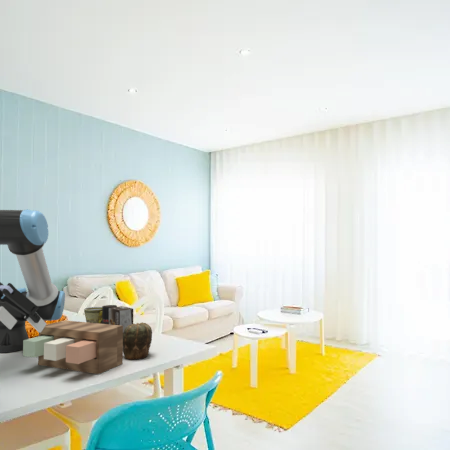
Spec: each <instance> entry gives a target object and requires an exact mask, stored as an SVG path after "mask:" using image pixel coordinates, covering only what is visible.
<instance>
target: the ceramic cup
mask: <svg viewBox="0 0 450 450" xmlns="http://www.w3.org/2000/svg"><path fill="white" fill-rule="evenodd" d="M83 310H84V317H85V322H88V323H99V324H102V306H90V307H86V308H84V309H83Z"/></svg>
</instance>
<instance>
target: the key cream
mask: <svg viewBox="0 0 450 450" xmlns="http://www.w3.org/2000/svg"><path fill="white" fill-rule="evenodd" d="M73 343H75V338H70V337H64V338H60V339H57V340H53V341H49V342H46V343H44V359H47V360H53V361H57V360H60V359H63V358H66V346H67V345H70V344H73Z"/></svg>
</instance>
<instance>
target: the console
mask: <svg viewBox="0 0 450 450" xmlns="http://www.w3.org/2000/svg"><path fill="white" fill-rule="evenodd" d="M42 335H52V336H54V340H57V339H60V338H64V337H70V338H75V343H76V342H80V341H83V340H86V339H88V340H96V341H97V357H96V358H93V359H91V360H88V361H85V362H83V363H80V364H74V363H67V362H66V358H63V359H60V360H57V361H53V360H47V359H44V355H41V356H38V357H37V359H38V360H37V365H38V366H43V367H50V368H55V369H56V368H57V369H62V370H63V369H64V370H69V371H76V372H83V373H88V374H89V373H90V374H95V375H100V374H103V373H104V372H107V371H109V370H112V369H114V368H116V367H118V366H121V365H123V360H124V358H123V356H124V353H123V326H121V325H110V324H99V323H88V322H86V321H75V320H66V319H65V320H61V321H57V322H52V323H46V326H45V327H44V329H43V330H42V332H41V333H39V332H38V337H39V336H42Z"/></svg>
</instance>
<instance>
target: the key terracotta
mask: <svg viewBox="0 0 450 450" xmlns="http://www.w3.org/2000/svg"><path fill="white" fill-rule="evenodd" d="M96 357H97V341H96V340H88V339H86V340H83V341H80V342H76V343H73V344H70V345H67V346H66V362H67V363H74V364H80V363H83V362H85V361H88V360H91V359H93V358H96Z"/></svg>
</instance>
